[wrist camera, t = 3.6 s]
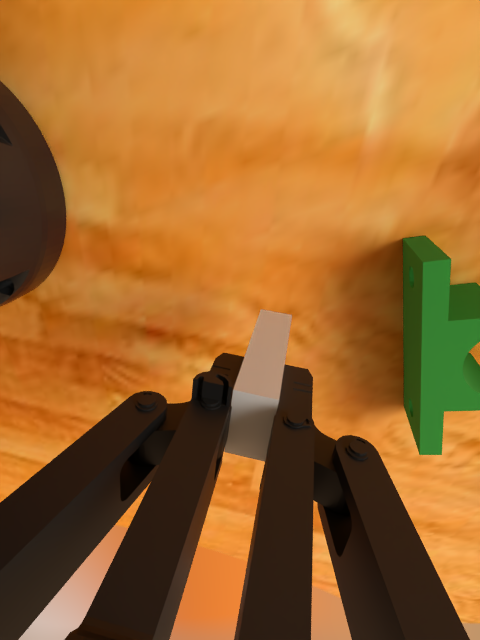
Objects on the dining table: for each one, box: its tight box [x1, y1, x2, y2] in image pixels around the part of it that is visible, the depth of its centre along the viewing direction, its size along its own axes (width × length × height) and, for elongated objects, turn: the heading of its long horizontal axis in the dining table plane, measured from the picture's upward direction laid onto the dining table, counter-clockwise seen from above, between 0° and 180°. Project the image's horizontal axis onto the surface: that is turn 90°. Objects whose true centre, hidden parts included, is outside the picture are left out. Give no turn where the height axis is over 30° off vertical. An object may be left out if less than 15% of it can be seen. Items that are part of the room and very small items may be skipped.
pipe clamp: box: [403, 236, 480, 455], centre depth 20 cm, size 11×4×5 cm, turn 10°
